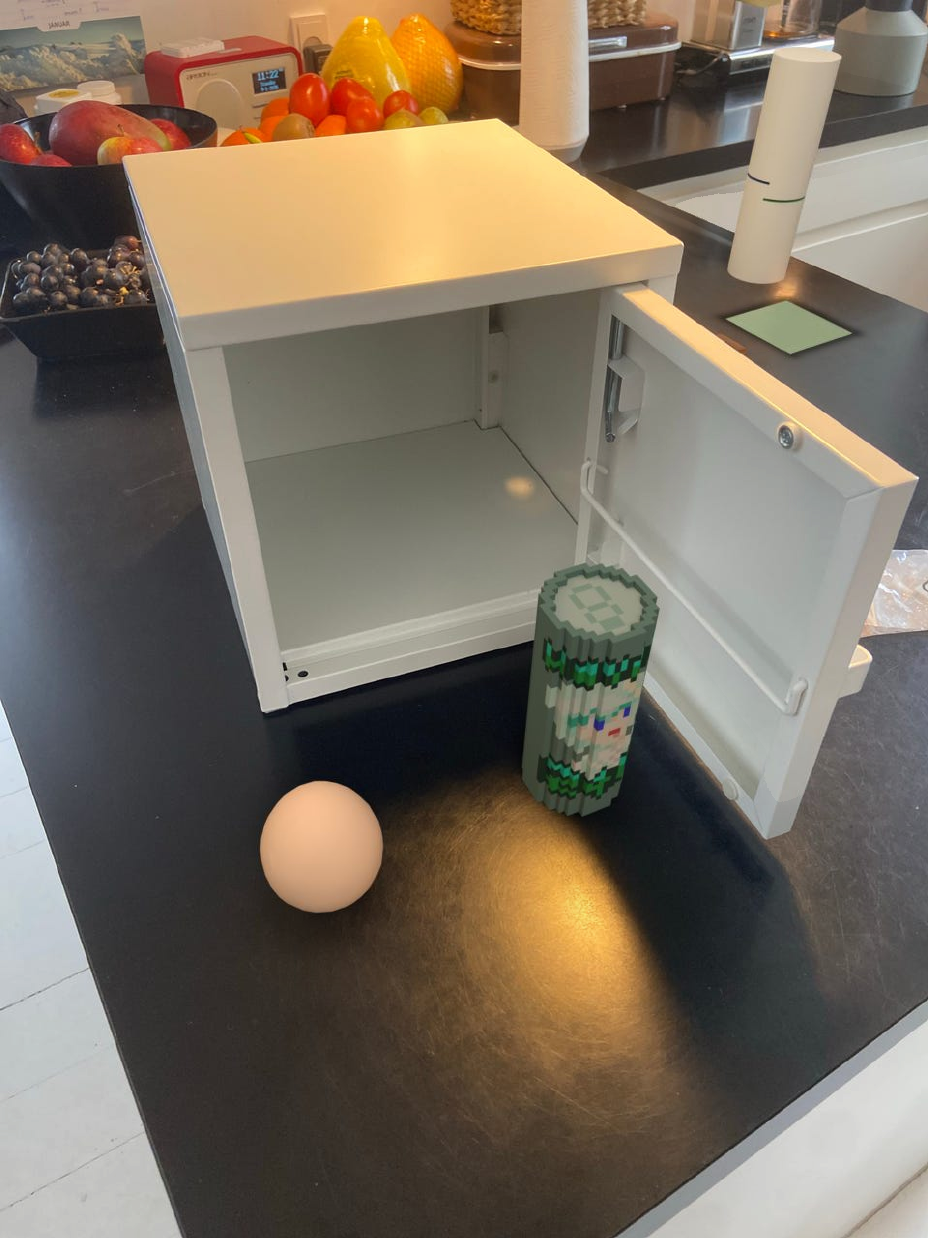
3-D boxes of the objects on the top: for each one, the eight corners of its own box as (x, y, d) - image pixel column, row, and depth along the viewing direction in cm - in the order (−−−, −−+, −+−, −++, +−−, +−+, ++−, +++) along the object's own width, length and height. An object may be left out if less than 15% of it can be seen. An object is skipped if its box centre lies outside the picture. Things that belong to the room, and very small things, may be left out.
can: (553, 828, 56) (578, 655, 45) (507, 756, 60) (521, 582, 49) (637, 794, 58) (679, 620, 47) (587, 726, 62) (616, 553, 51)
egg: (406, 900, 52) (402, 819, 46) (299, 959, 49) (281, 880, 44) (353, 817, 56) (343, 733, 51) (251, 866, 53) (229, 784, 48)
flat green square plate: (783, 309, 110) (786, 300, 109) (849, 342, 104) (852, 332, 103) (723, 328, 106) (725, 318, 105) (787, 363, 100) (790, 353, 99)
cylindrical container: (745, 264, 120) (795, 43, 103) (793, 281, 116) (853, 55, 99) (714, 279, 116) (760, 53, 99) (763, 297, 112) (820, 65, 95)
